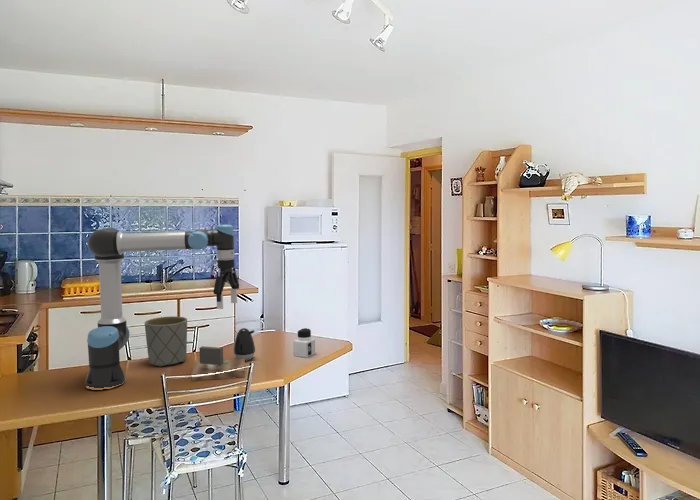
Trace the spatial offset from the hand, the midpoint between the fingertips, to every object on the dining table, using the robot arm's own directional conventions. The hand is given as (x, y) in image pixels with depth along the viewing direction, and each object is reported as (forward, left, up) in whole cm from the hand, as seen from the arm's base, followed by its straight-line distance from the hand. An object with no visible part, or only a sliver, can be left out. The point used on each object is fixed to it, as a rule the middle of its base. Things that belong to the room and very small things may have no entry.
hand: (227, 305), depth 241 cm
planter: (-29, +16, -29) cm, 44 cm away
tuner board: (-4, -6, -29) cm, 30 cm away
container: (+36, +13, -29) cm, 48 cm away
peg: (-5, -6, -26) cm, 27 cm away
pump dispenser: (+7, +12, -29) cm, 32 cm away
